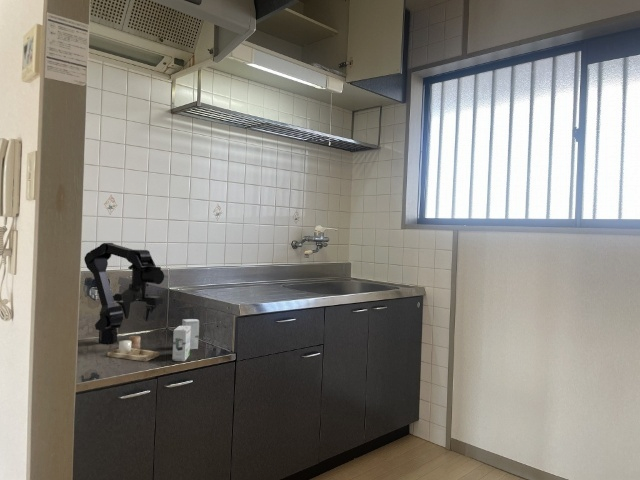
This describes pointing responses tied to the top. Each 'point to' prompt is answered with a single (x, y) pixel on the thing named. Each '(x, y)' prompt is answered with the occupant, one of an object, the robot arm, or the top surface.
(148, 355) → the egg tray
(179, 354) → the ink box
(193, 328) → the skincare box
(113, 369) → the top surface
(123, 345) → the cream egg
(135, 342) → the brown egg
